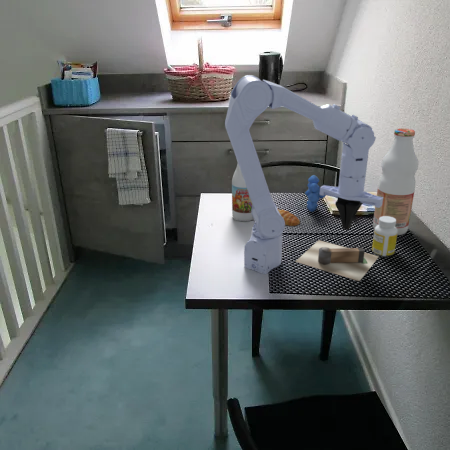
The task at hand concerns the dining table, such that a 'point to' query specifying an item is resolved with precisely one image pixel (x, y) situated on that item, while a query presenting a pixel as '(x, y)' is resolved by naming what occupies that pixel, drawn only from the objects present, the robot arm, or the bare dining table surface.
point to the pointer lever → (340, 255)
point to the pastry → (289, 218)
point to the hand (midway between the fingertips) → (346, 228)
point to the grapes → (313, 193)
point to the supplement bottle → (385, 236)
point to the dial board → (340, 268)
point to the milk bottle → (240, 198)
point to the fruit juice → (398, 181)
